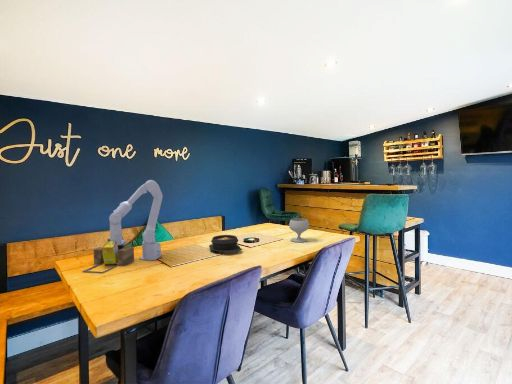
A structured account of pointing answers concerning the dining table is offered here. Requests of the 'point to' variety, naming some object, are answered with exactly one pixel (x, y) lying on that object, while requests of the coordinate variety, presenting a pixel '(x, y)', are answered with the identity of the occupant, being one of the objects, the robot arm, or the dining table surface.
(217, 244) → the black round squat piece
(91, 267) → the stand outline
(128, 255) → the shelf blocks
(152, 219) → the robot arm
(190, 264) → the dining table surface
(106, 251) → the supplement box
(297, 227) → the chalice
